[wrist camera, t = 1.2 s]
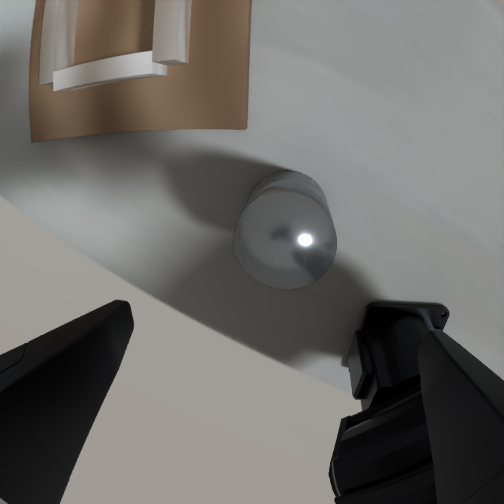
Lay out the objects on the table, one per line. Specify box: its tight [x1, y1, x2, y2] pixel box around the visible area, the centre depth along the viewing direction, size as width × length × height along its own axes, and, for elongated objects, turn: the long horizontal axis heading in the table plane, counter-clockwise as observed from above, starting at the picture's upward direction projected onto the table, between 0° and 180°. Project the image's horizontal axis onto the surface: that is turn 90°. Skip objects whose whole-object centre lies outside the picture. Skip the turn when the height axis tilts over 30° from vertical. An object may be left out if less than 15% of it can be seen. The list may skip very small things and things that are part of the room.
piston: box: [234, 171, 337, 289], centre depth 16 cm, size 4×4×5 cm
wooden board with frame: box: [29, 0, 252, 143], centre depth 13 cm, size 15×15×3 cm
